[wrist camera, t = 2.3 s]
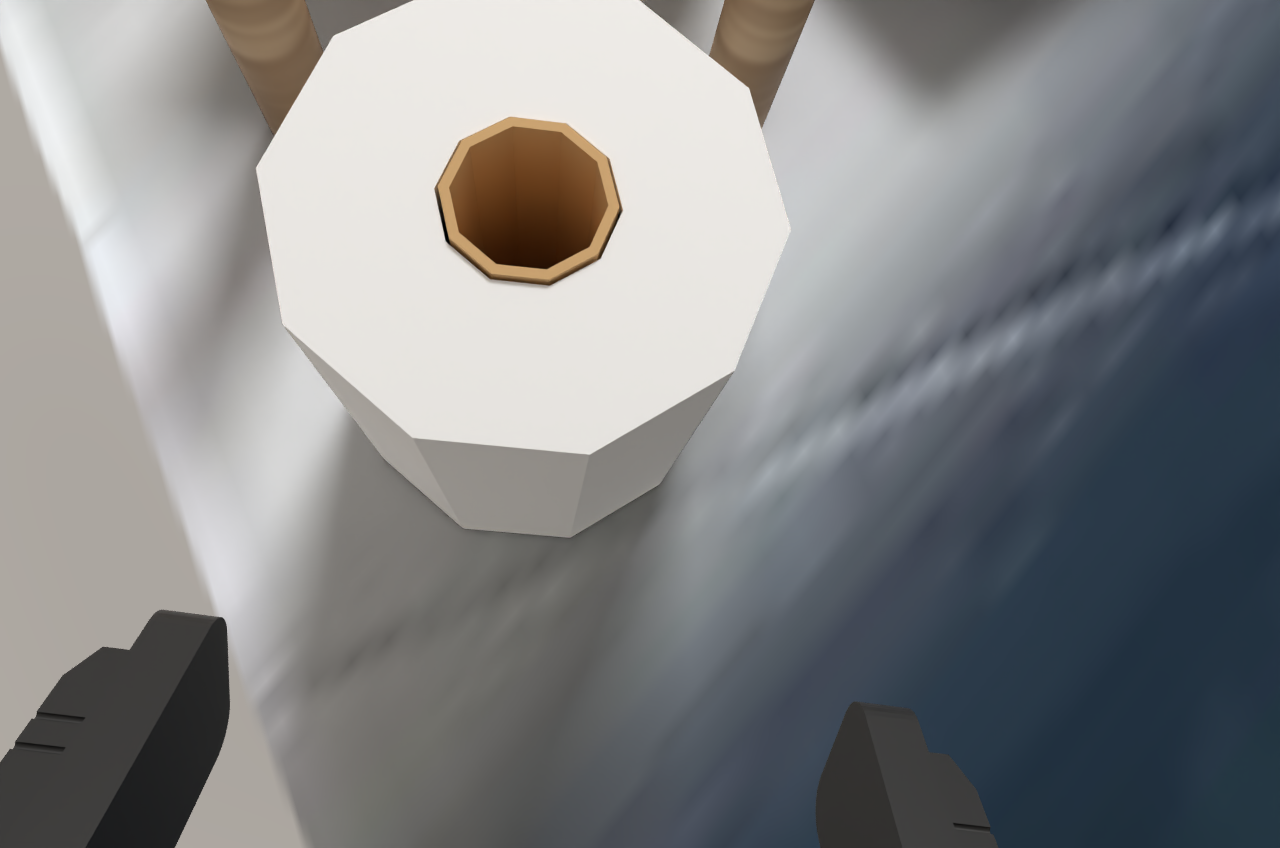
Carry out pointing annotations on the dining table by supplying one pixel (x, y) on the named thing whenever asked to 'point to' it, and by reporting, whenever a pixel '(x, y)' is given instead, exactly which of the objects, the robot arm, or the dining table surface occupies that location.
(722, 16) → the peg cradle
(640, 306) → the toilet paper
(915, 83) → the dining table surface
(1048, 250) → the dining table surface
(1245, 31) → the dining table surface
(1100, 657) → the dining table surface
